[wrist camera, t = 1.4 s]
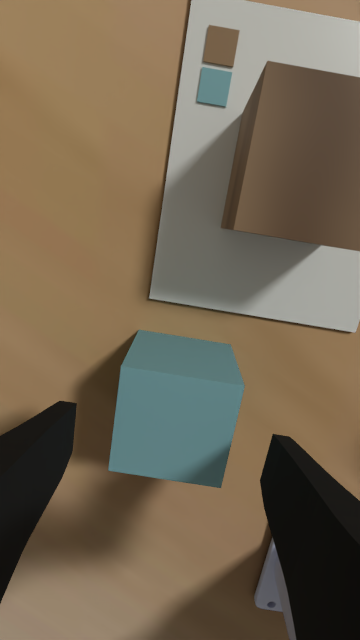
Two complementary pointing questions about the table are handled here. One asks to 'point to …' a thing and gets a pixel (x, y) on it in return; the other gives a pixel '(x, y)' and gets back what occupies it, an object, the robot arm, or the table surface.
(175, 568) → the table surface
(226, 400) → the brick teal
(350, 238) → the brick walnut
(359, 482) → the table surface
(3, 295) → the table surface
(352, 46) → the baseplate
